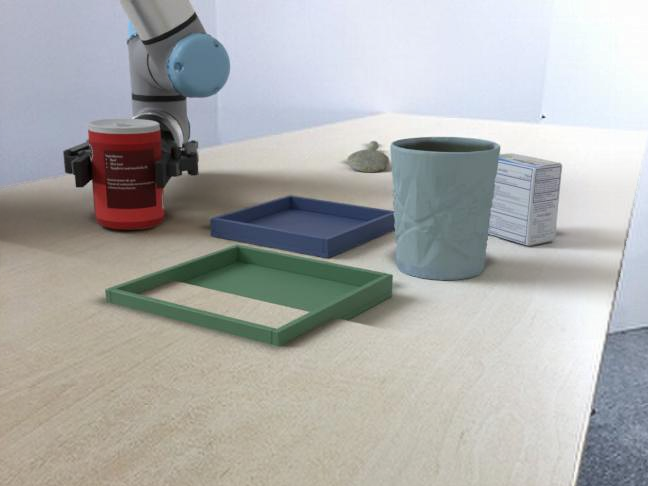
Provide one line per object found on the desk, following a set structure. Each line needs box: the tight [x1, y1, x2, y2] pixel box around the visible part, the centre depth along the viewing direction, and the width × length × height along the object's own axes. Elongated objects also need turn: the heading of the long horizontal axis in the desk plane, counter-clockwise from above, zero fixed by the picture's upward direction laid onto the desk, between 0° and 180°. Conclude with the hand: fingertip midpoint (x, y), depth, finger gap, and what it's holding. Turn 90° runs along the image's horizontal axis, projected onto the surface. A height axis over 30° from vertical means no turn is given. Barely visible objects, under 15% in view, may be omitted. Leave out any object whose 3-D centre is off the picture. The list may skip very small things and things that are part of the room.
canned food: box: [87, 118, 165, 231], centre depth 95 cm, size 8×8×11 cm
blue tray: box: [209, 194, 395, 259], centre depth 95 cm, size 15×15×2 cm
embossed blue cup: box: [389, 136, 501, 281], centre depth 81 cm, size 10×10×12 cm
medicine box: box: [488, 152, 563, 247], centre depth 94 cm, size 8×4×9 cm, turn 34°
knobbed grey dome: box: [346, 140, 390, 173], centre depth 140 cm, size 22×3×7 cm
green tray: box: [104, 243, 394, 347], centre depth 72 cm, size 17×17×2 cm
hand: (119, 175), depth 90 cm, fingers closed on canned food, 8 cm apart
